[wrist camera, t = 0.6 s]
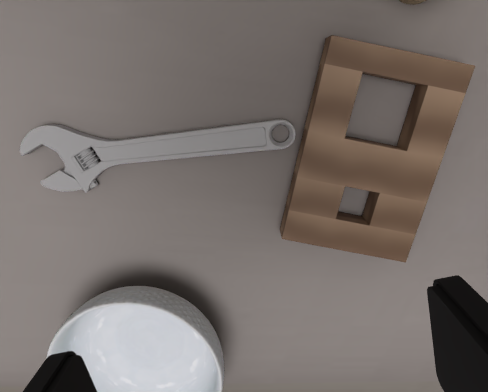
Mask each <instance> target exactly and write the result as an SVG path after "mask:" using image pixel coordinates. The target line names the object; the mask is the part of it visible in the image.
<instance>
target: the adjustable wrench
mask: <svg viewBox="0 0 488 392" xmlns="http://www.w3.org/2000/svg"><path fill="white" fill-rule="evenodd" d="M277 125H285V126H286V127H287V128H288V129H289V138H288V139H287V140H286V141H285V142H282V143H278V142H276V141H275V140H274V139H273V138H272V130H273V128H274V127H275V126H277ZM295 134H296V133H295V129H294V127H293V125H292V124H291V123H290V122H288V121H287V120H284V119H276V120H268V121H260V122H253V123H245V124H237V125H229V126H221V127H214V128H206V129H198V130H190V131H183V132H175V133H167V134H159V135H151V136H144V137H136V138H128V139H120V140H111V139H104V138H100V137H96V136H92V135H88V134H85V133H82V132H80V131H77V130H74V129H72V128H69V127H67V126H64V125H60V124H49V125H44V126H40V127H37V128H35V129H33V130H31V131H30V132H29V133H28V134H27V135H26V136H25V138H24V139H23V140H22V142H21V146H20V154H21V156H23V155H26V154H29V153H31V152H32V151H34V150H36V149H37V148H39V147H41V146H42V145H45V146H46V147H48V148H50V149H52V150H54V151H56V152H57V153H58V154H59V156H60V157H61V159H62V160H63V162H64V163H65V168H63V169H61V170H59V171H58V172H56V173H54V174H52V175H51V176H49V177H47V178H46V179H44V180H42V181H41V184H42V185H43V186H44V187H46V188H49V189H52V190H56V191H64V192H67V191H76V190H81V189H83V191H84V192H85V193H86V192H88V191H89V190H90V189H92V188H93V187H95V186H97V185H98V183H97V181H96V178H97V177H98V176H99V175H100V174H101V173H102V172H103V171H104V170H105V169H106V168H109V167H111V166H114V165H119V164H127V163H138V162H148V161H159V160H170V159H180V158H191V157H202V156H212V155H223V154H234V153H244V152H255V151H266V150H276V149H284V148H287V147H289V146H290V145H291V144H292V143H293V142H294V139H295ZM91 147H93V149H94V150H92V149H91ZM94 151H95V152H96V153H95V154H94ZM96 155H98V156H99V157H96ZM99 158H100V159H101V162H99V160H98V159H99Z"/></svg>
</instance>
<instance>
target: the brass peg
mask: <svg viewBox="0 0 488 392" xmlns="http://www.w3.org/2000/svg"><path fill="white" fill-rule="evenodd" d="M399 1H401V2H403V3H406V4H419V3H422V2H424V1H426V0H399Z"/></svg>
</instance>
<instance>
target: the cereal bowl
mask: <svg viewBox="0 0 488 392" xmlns="http://www.w3.org/2000/svg"><path fill="white" fill-rule="evenodd" d="M67 351H73V352H75V353H76V355H80V356H81V357H82V358H83V360H84V363H85V365H86V367H87V369H88V372H89V374H90V376H91V379H92V381H93V383H94V386H95V388H96V390H97V392H222V389H223V380H224V359H223V352H222V347H221V345H220V341H219V339H218V337H217V333H216V332H215V330H214V328H213V326H212V325H211V324H210V322H209V320H208V319H207V318H206V317H205V316H204V315H203V313H202V312H200V310H199V309H197V308H196V307H195V306H194V305H192V304H191V303H190V302H188V301H187V300H185V299H184V298H182V297H180V296H178V295H176V294H175V293H171V292H170V291H166V290H162V289H158V288H156V287H147V286H127V287H121V288H116V289H112V290H109V291H106V292H103V293H101V294H99V295H97V296H95V297H94V298H92V299H90V300H89V301H87V302H86V303H84V304H83V305H82V306H81V307H79V308H78V309H77V310H76V311H75V312H74V313H72V314H71V316H70V317H69V318H68V319H67V320H66V321H65V323H64V324H63V325H62V326H61V327H60V329H59V330H58V331H57V332H56V334H55V336H54V338H53V340H52V342H51V344H50V347H49V350H48V353H47V358H48V357H49V356H50V355H52V354H57V353H62V352H67Z"/></svg>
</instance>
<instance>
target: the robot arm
mask: <svg viewBox="0 0 488 392" xmlns="http://www.w3.org/2000/svg"><path fill="white" fill-rule="evenodd" d="M427 294H428V303H429V312H430V321H431V330H432V339H433V347H434V356H435V365H436V373H437V377H438V380H439V382H440V385H441V387H442V389H443V390H444V392H488V303H487V302H486V301H485V300H484V299H483V298H482V297H481V296H480V295H479V294H478V293H477V292H476V291H475V290H474V289H473V288H472V287H471V286H470V285H469V284H468V283H467V282H466V281H465V280H463V279H462V278H461V277H460V276H457V275H456V276H451V277H446V278H441V279H436V280H434V283H433V286H431V287H428V289H427ZM23 392H97V390H96V388H95V386H94V383H93V381H92V379H91V376H90V374H89V372H88V369H87V367H86V365H85V363H84V360H83V358H82V357H81V356H80V355H76V353H75V352H73V351H67V352H62V353H57V354H52V355H50V356H49V357H48V358H47V359H46V360H45V362H44V363H43V364H42V366H41V367H40V368H39V370H38V371H37V373H36V374H35V375H34V377H33V378H32V380H31V381H30V382H29V384H28V385H27V387H26V388H25V389H24V391H23Z"/></svg>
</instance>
